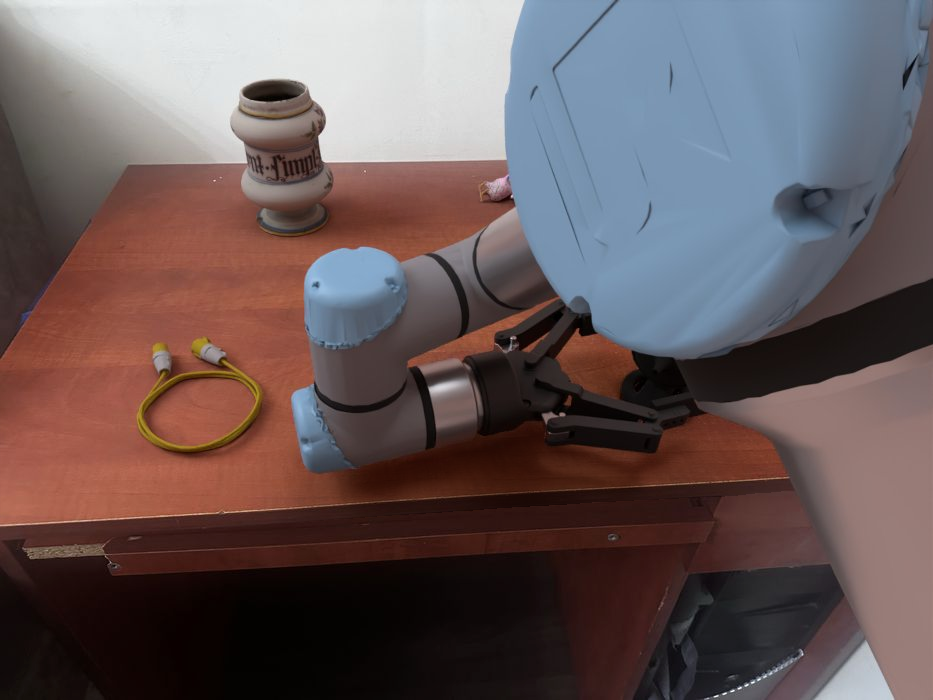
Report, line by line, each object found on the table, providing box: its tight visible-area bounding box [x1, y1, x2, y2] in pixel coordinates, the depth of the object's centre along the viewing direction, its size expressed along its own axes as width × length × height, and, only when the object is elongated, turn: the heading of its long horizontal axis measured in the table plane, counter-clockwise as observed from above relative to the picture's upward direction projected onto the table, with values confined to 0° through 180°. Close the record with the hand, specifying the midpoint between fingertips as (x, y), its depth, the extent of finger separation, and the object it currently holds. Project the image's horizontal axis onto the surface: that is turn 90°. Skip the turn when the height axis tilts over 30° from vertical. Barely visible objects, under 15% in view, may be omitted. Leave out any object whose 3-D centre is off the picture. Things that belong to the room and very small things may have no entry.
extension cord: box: [136, 336, 264, 453], centre depth 70 cm, size 12×16×2 cm
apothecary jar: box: [229, 78, 334, 237], centre depth 93 cm, size 12×12×18 cm
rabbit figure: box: [477, 172, 514, 202], centre depth 104 cm, size 6×6×15 cm
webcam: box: [620, 350, 690, 408], centre depth 70 cm, size 8×8×10 cm
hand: (672, 353), depth 70 cm, fingers open, 13 cm apart
